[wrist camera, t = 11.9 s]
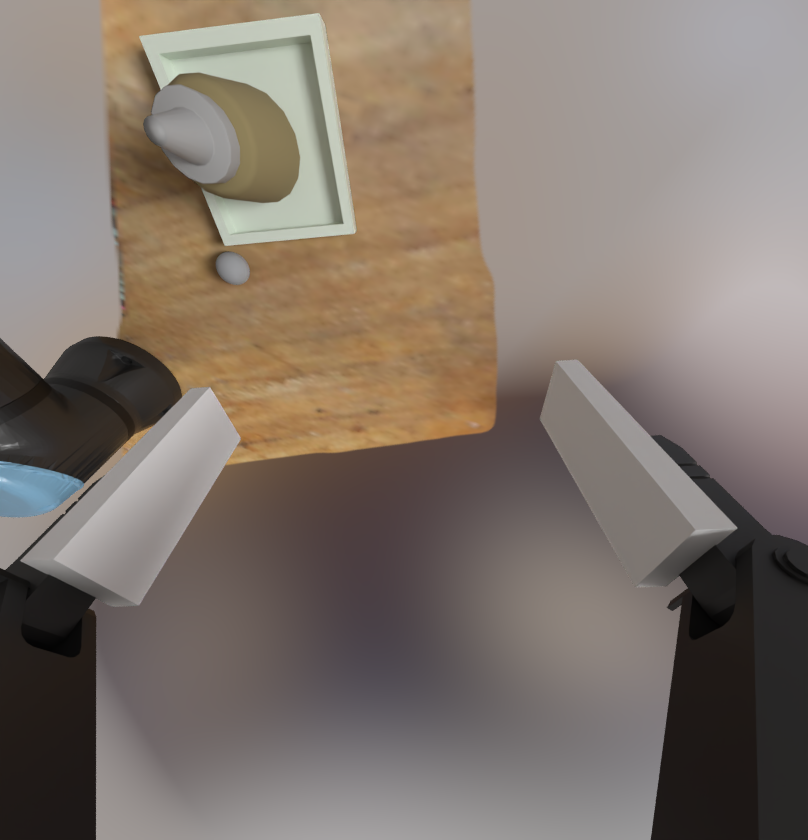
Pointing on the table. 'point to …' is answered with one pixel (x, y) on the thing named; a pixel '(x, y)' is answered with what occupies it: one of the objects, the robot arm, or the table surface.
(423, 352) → the table surface
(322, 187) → the tray
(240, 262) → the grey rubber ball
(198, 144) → the squeeze bottle
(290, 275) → the table surface
